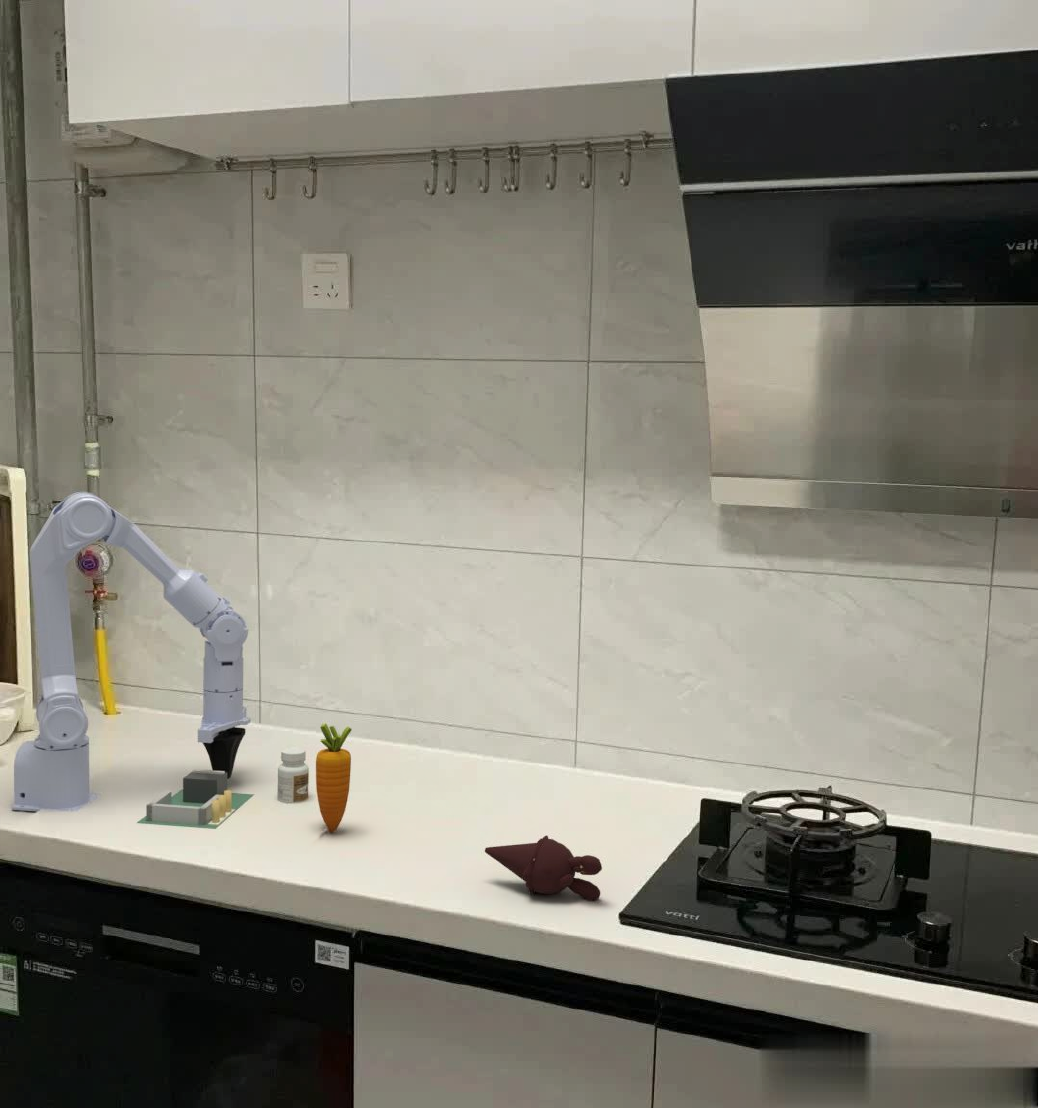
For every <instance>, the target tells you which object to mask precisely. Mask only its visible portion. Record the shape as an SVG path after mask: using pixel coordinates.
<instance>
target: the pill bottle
mask: <svg viewBox="0 0 1038 1108" xmlns="http://www.w3.org/2000/svg"><path fill="white" fill-rule="evenodd" d="M280 753H281V756H280V759H281V762H282V763H281V764H280V765H278V767H277V801H278V802H280V803H283V804H300V803H305V802H306V801H308V799H309V783H310V782H309V779H310V778H309V777H310V774H309V772H310V771H309V769H310V768H309V765H308V764H307V763H306V762H305V761H306V749H304V748H302V747H296V746H295V747H292V746H291V747H286V748H283V749H282V750H281V752H280Z"/></svg>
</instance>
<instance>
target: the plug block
mask: <svg viewBox="0 0 1038 1108" xmlns="http://www.w3.org/2000/svg"><path fill="white" fill-rule="evenodd" d="M182 789H183V802H189V803H203V804H205V803H206V802H208V801H209V800H210V799H211V798H213V797H214V796H215V795H224V791H225V790H228V779H227V772H225V771H214V770H212V769H200V768H199V769H197V768H194V769H192V771H191V772H190V773H188V774H187V775H186V776H184V777H183V778H182Z"/></svg>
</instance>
